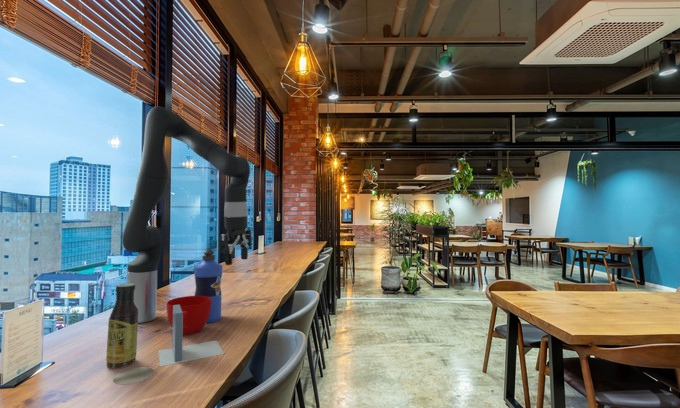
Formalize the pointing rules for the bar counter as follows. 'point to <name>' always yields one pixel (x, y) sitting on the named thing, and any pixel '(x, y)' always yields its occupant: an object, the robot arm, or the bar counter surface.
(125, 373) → the coaster
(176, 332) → the tile
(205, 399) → the bar counter surface
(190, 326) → the ceramic cup
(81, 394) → the bar counter surface
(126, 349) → the sauce bottle
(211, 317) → the water bottle
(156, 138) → the robot arm
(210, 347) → the mat
